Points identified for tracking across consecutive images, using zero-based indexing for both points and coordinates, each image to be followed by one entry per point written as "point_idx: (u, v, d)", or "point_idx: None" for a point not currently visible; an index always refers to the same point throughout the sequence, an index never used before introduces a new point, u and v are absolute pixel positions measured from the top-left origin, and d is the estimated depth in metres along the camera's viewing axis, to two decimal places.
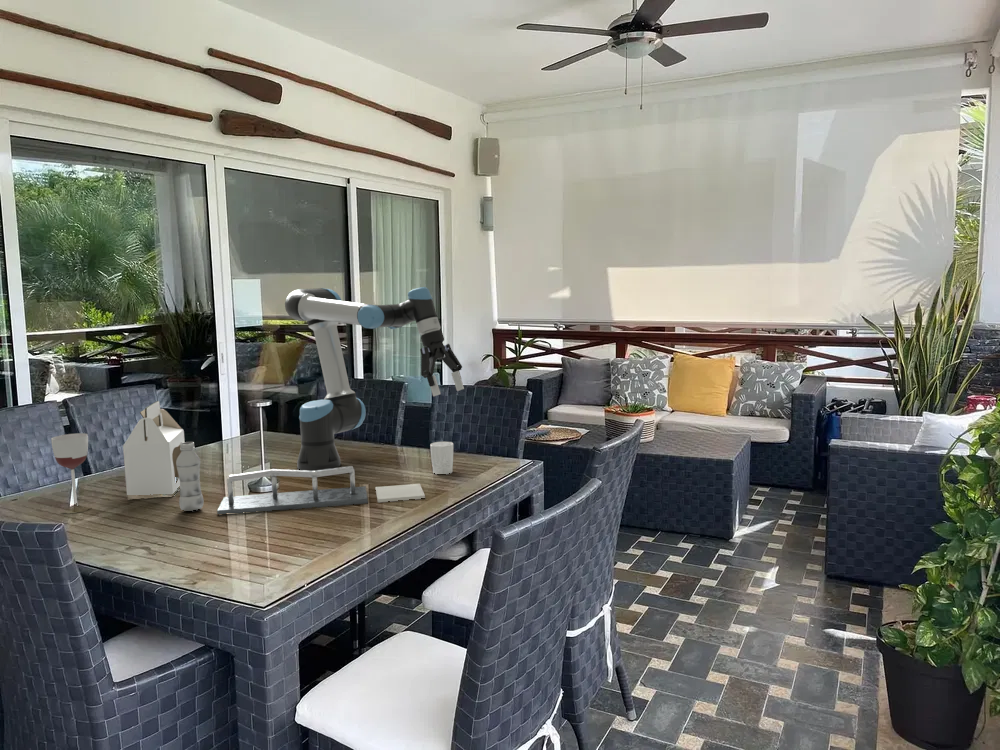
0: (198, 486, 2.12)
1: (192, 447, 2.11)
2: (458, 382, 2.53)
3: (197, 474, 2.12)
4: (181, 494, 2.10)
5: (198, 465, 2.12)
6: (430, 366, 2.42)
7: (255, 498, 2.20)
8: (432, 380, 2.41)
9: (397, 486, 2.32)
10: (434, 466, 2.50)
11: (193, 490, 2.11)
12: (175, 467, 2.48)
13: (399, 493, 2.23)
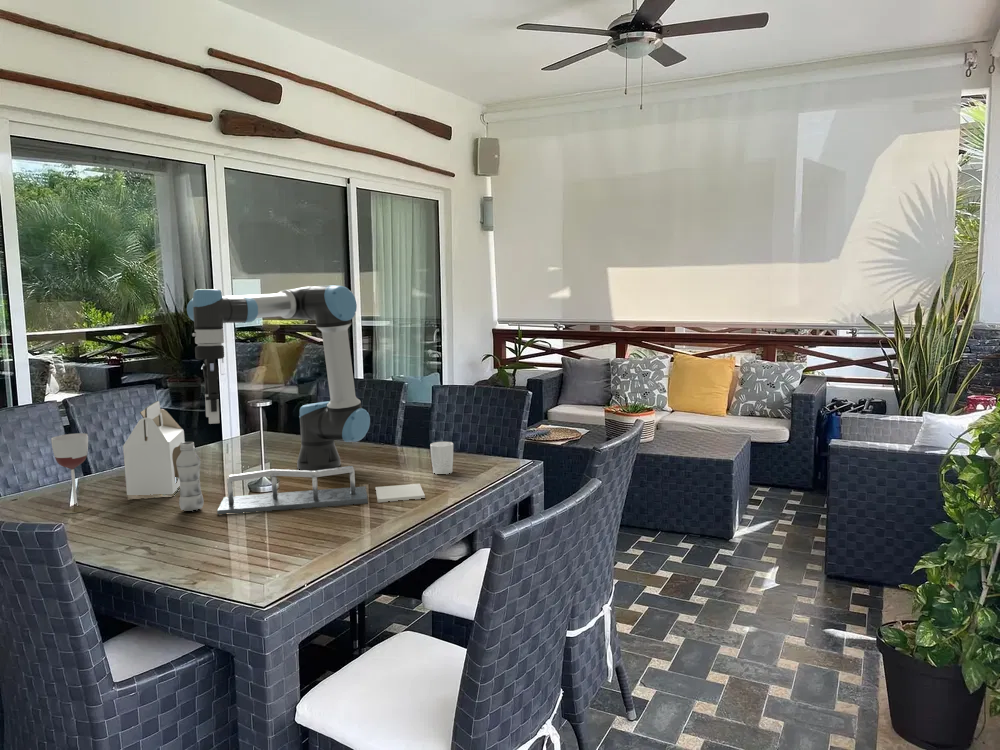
0: (198, 486, 2.12)
1: (192, 447, 2.11)
2: None
3: (197, 474, 2.12)
4: (181, 494, 2.10)
5: (198, 465, 2.12)
6: None
7: (255, 498, 2.20)
8: None
9: (397, 486, 2.32)
10: (434, 466, 2.50)
11: (193, 490, 2.11)
12: (175, 467, 2.48)
13: (399, 493, 2.23)
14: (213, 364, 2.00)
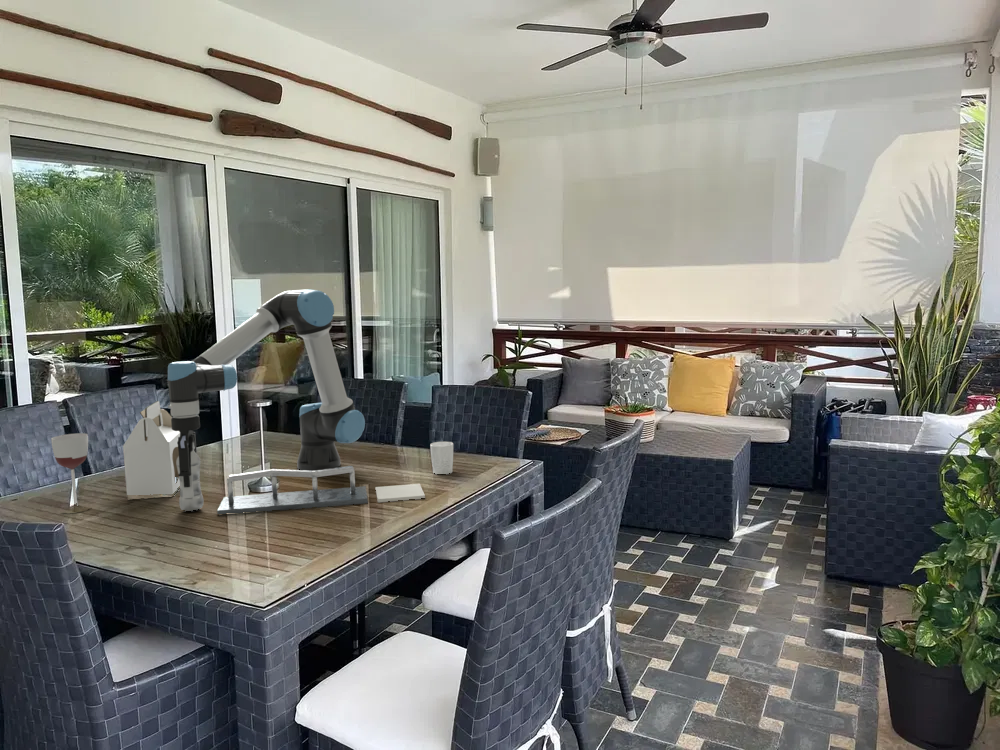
0: (198, 486, 2.12)
1: None
2: None
3: (197, 474, 2.12)
4: (181, 493, 2.10)
5: (198, 465, 2.12)
6: None
7: (255, 498, 2.20)
8: None
9: (397, 486, 2.32)
10: (434, 466, 2.50)
11: (193, 490, 2.11)
12: (175, 467, 2.48)
13: (399, 493, 2.23)
14: (183, 442, 2.05)
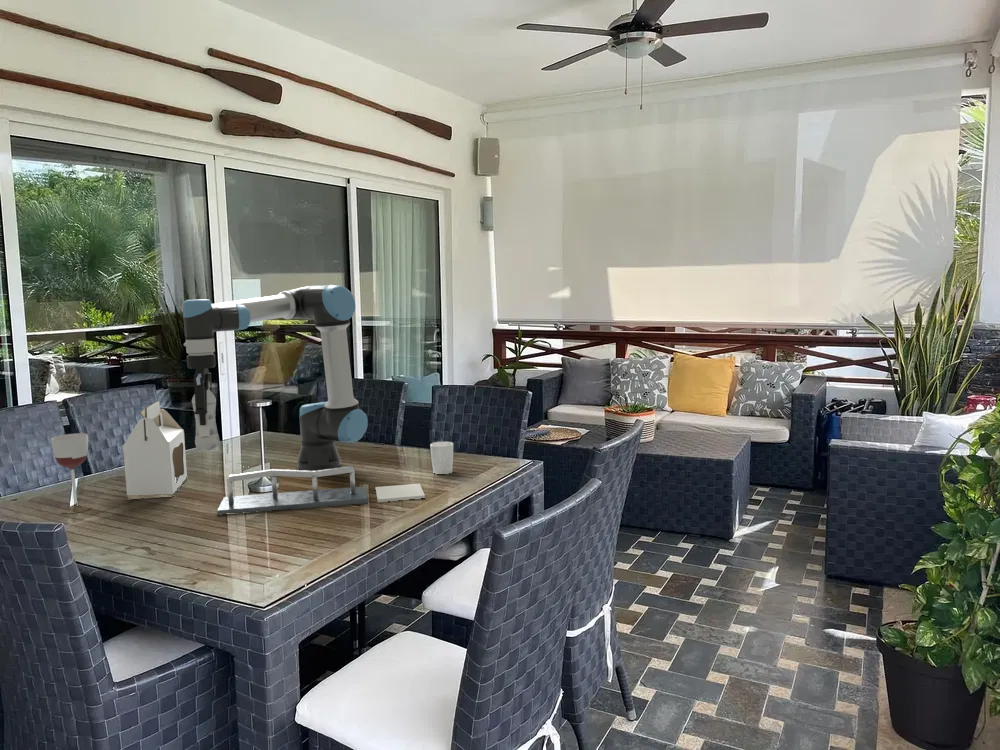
0: (214, 425, 2.11)
1: None
2: None
3: (213, 413, 2.10)
4: (197, 432, 2.09)
5: (214, 404, 2.10)
6: None
7: (255, 498, 2.20)
8: None
9: (397, 486, 2.32)
10: (434, 466, 2.50)
11: (209, 429, 2.10)
12: (175, 467, 2.48)
13: (399, 493, 2.23)
14: (199, 379, 2.03)
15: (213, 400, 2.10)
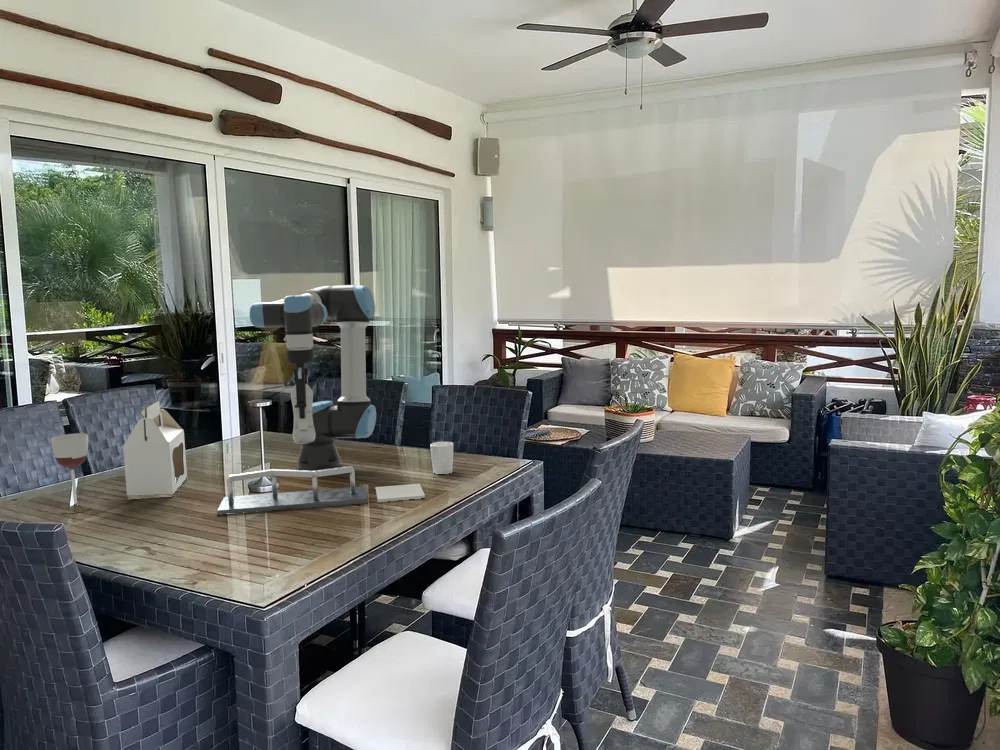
0: (311, 419, 2.15)
1: None
2: None
3: (310, 407, 2.15)
4: (295, 425, 2.13)
5: (311, 398, 2.15)
6: None
7: (255, 498, 2.20)
8: None
9: (397, 486, 2.32)
10: (434, 466, 2.50)
11: None
12: (175, 467, 2.48)
13: (399, 493, 2.23)
14: (301, 373, 2.08)
15: (311, 394, 2.14)
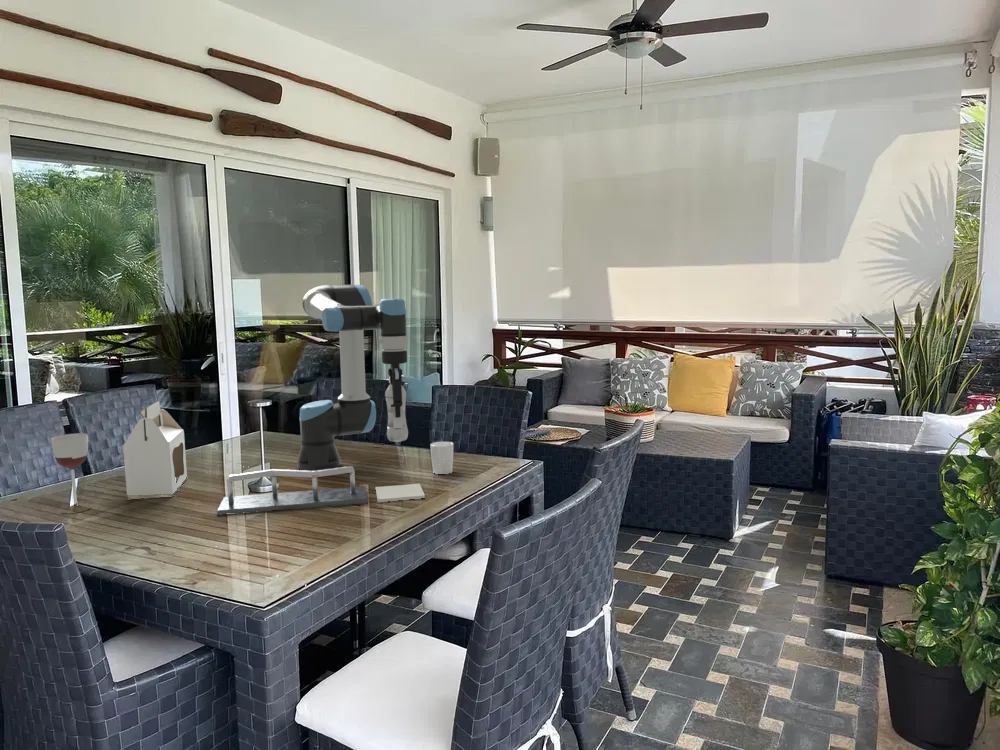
0: (405, 417, 2.23)
1: None
2: None
3: (404, 406, 2.23)
4: (390, 424, 2.21)
5: (405, 397, 2.23)
6: None
7: (255, 498, 2.20)
8: None
9: (397, 486, 2.32)
10: (434, 466, 2.50)
11: None
12: (175, 467, 2.48)
13: (399, 493, 2.23)
14: (398, 374, 2.16)
15: (405, 394, 2.22)
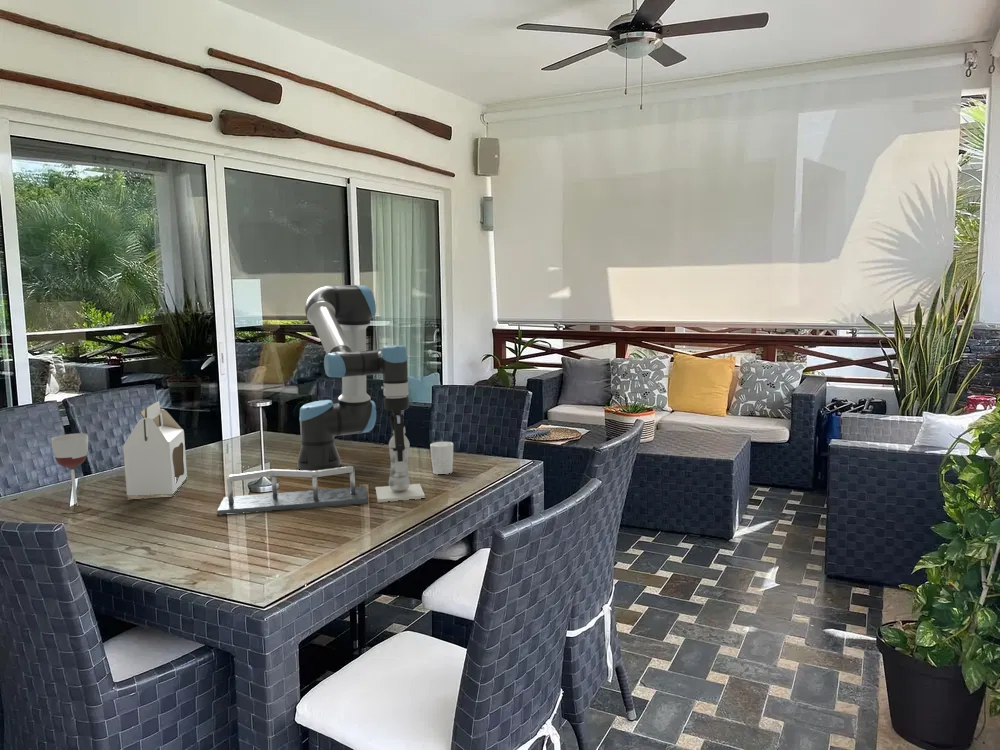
0: (407, 468, 2.25)
1: (404, 431, 2.23)
2: None
3: (407, 456, 2.24)
4: (393, 474, 2.23)
5: (408, 448, 2.24)
6: None
7: (255, 498, 2.20)
8: None
9: None
10: (434, 466, 2.50)
11: None
12: (175, 467, 2.48)
13: (399, 493, 2.23)
14: (400, 417, 2.17)
15: (408, 444, 2.24)
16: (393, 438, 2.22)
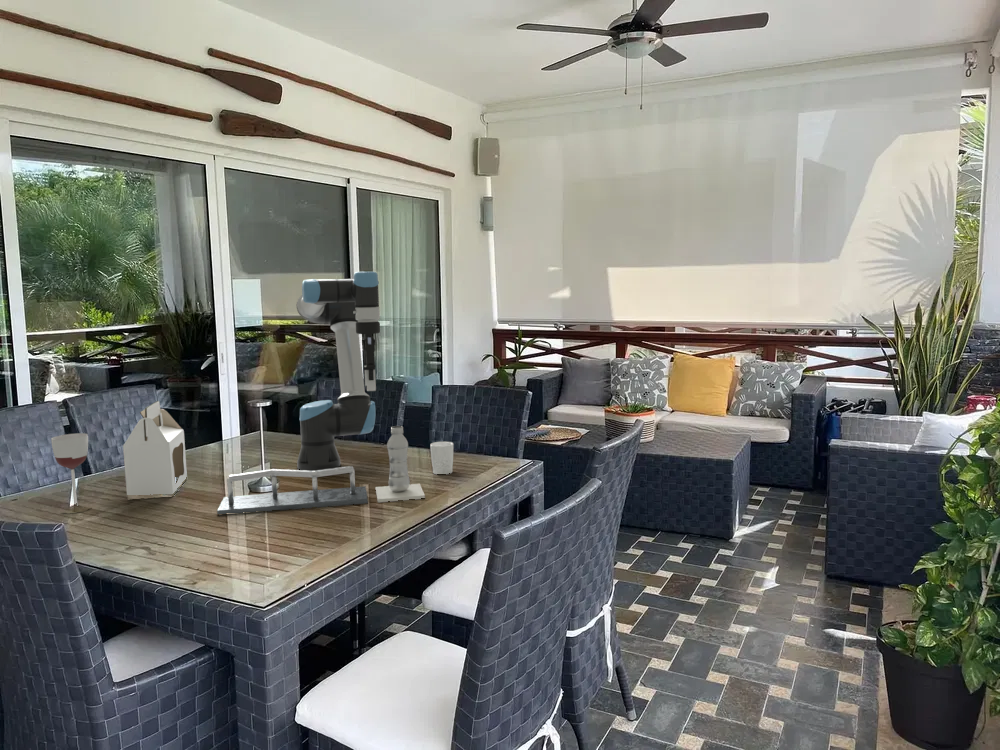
0: (406, 467, 2.25)
1: (402, 431, 2.24)
2: None
3: (406, 456, 2.24)
4: (392, 474, 2.23)
5: (407, 448, 2.24)
6: None
7: (255, 498, 2.20)
8: None
9: None
10: (434, 466, 2.50)
11: (403, 471, 2.24)
12: (175, 467, 2.48)
13: (399, 493, 2.23)
14: (370, 338, 2.25)
15: (407, 444, 2.24)
16: (391, 438, 2.23)
